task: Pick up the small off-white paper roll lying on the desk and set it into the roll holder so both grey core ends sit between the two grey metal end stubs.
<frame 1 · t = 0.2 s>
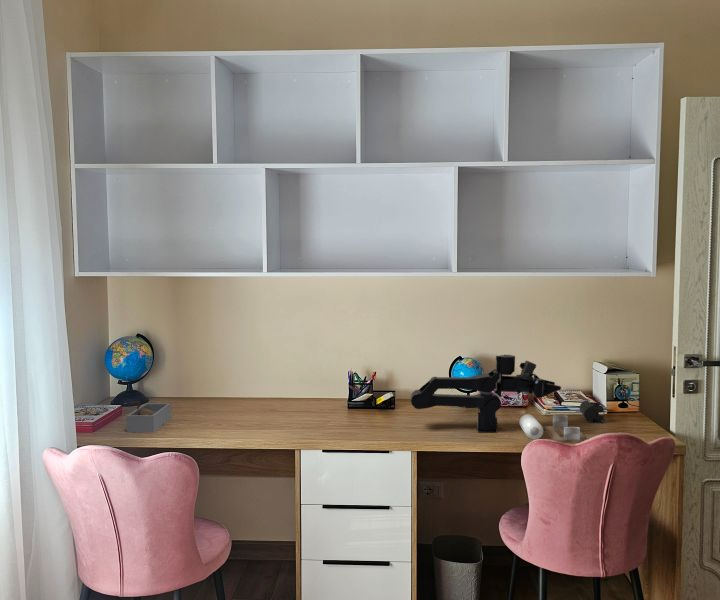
hand: (557, 385, 252), 16 cm above the table, tool horizontal, fingers open, 9 cm apart
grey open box: (145, 424, 265), resting in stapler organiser
paper roll: (530, 434, 249), on the table
end cap: (591, 421, 269), on the table
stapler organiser: (149, 425, 264), on the table
roll holder: (565, 435, 248), on the table
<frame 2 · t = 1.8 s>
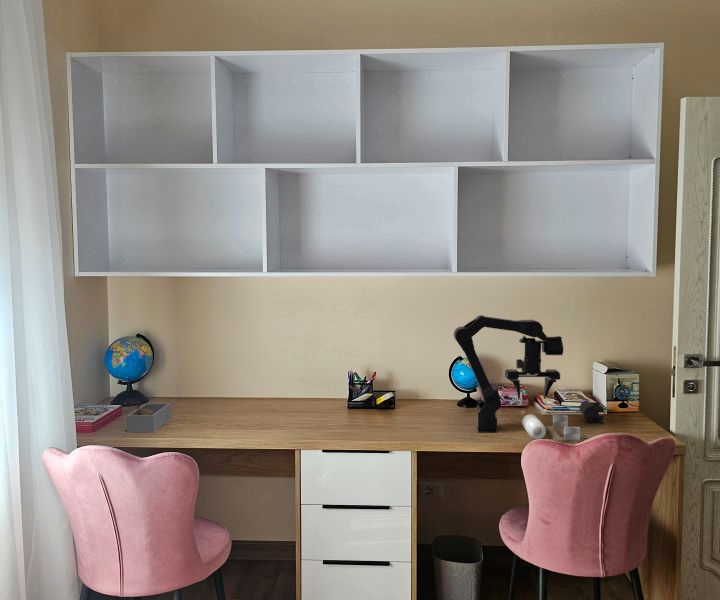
hand: (531, 398, 253), 12 cm above the table, tool pointing down, fingers open, 9 cm apart
paper roll: (530, 434, 249), on the table, tilted 20°
everything else where it was.
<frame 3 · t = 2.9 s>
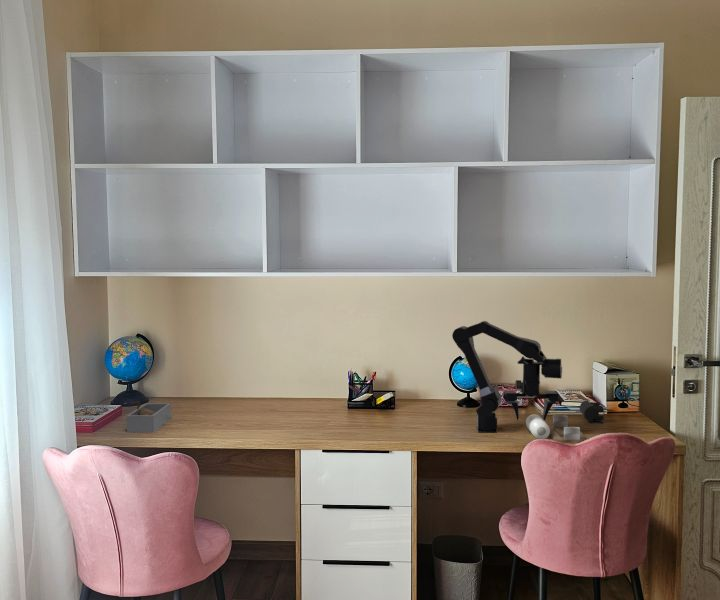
hand: (530, 420, 249), 5 cm above the table, tool pointing down, fingers open, 9 cm apart
paper roll: (531, 432, 249), point 1 cm above the table, tilted 47°, touching gripper
everything else where it was.
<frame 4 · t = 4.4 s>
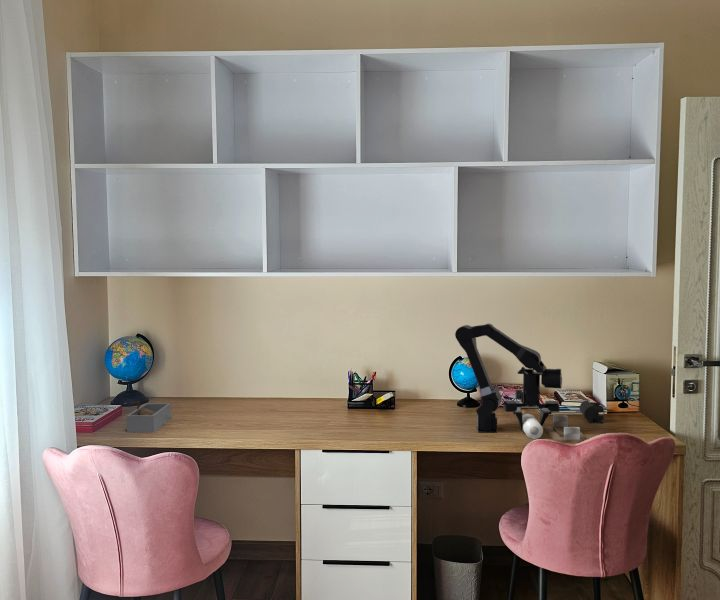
hand: (530, 430, 249), 2 cm above the table, tool pointing down, fingers closed on paper roll, 6 cm apart
paper roll: (529, 434, 249), on the table, tilted 9°, touching gripper
everything else where it was.
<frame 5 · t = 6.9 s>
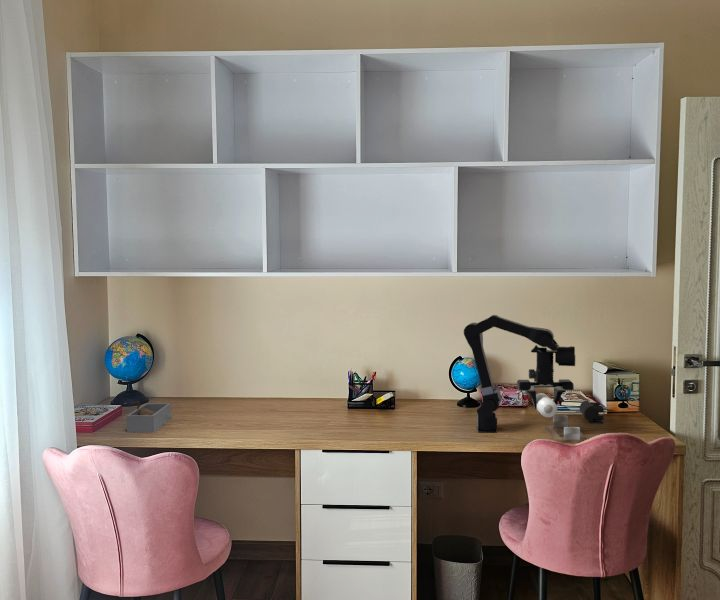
hand: (544, 409, 248), 9 cm above the table, tool pointing down, fingers closed on paper roll, 6 cm apart
paper roll: (543, 413, 248), point 8 cm above the table, tilted 9°, touching gripper
everything else where it was.
when the fingers open (3 cm above the table, at t = 9.9 s): paper roll stays where it is, resting on roll holder.
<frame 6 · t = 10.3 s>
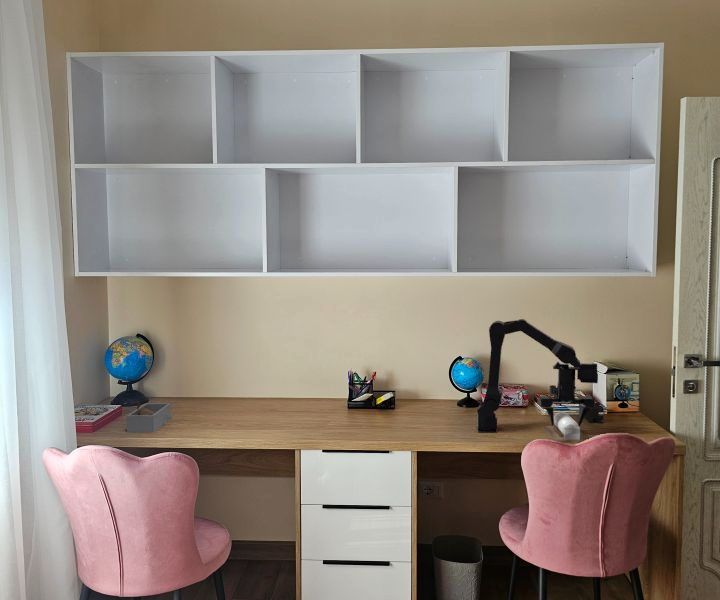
hand: (565, 425, 247), 3 cm above the table, tool pointing down, fingers open, 9 cm apart
paper roll: (564, 432, 248), point 1 cm above the table, tilted 10°, touching roll holder
everything else where it was.
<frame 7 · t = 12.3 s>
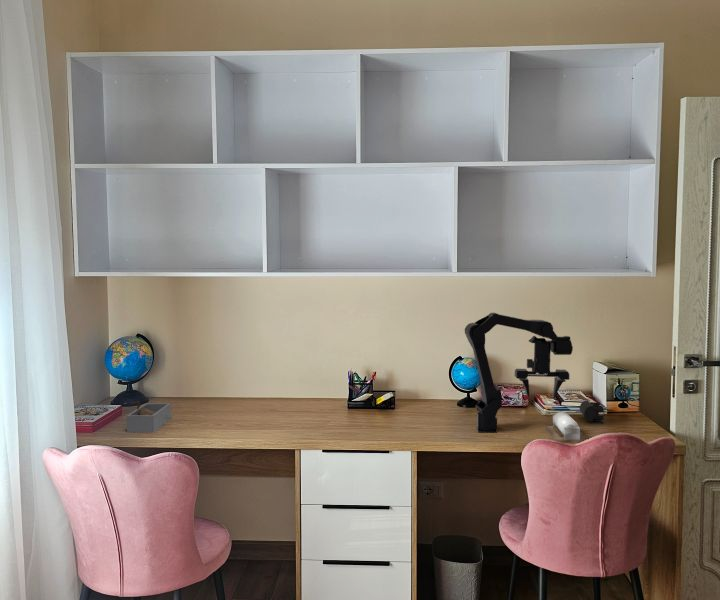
hand: (541, 397, 256), 12 cm above the table, tool pointing down, fingers open, 9 cm apart
nothing on the table moved.
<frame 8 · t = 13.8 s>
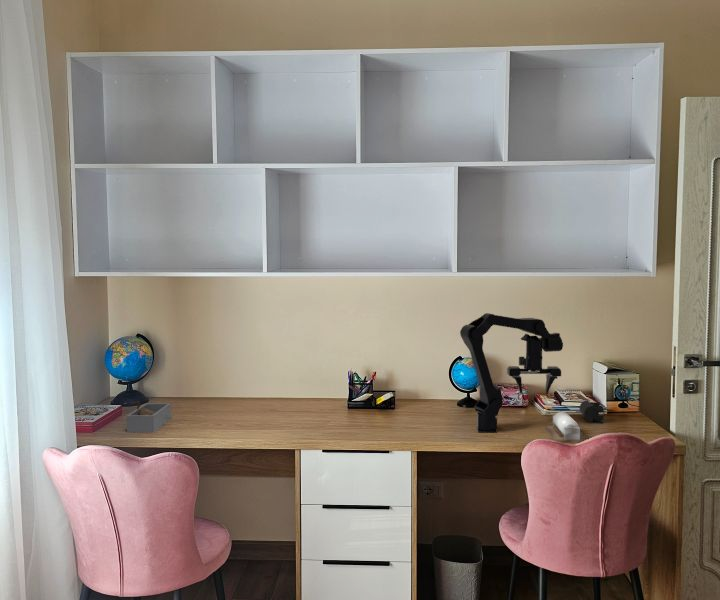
hand: (533, 394, 259), 12 cm above the table, tool pointing down, fingers open, 9 cm apart
nothing on the table moved.
at the end: paper roll 0.6 cm off-centre on the roll holder, point 1.1 cm above the roll holder's base; the gripper is holding nothing; paper roll moved 11.5 cm from its start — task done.
